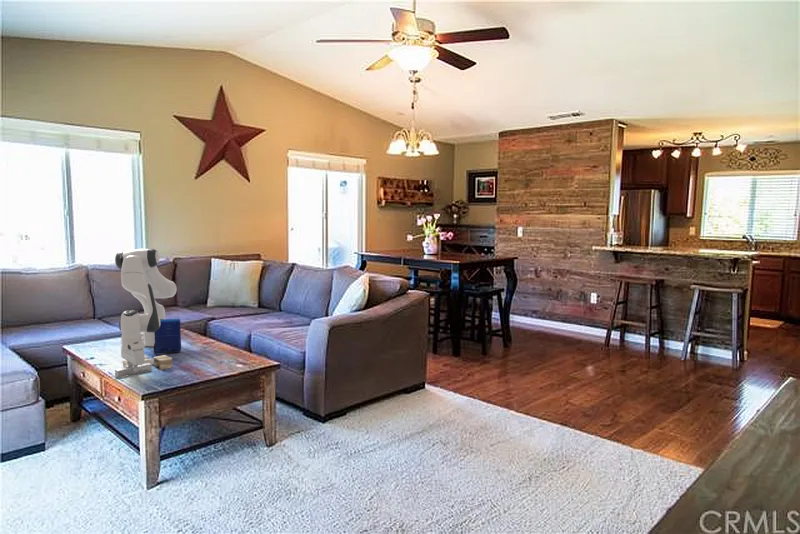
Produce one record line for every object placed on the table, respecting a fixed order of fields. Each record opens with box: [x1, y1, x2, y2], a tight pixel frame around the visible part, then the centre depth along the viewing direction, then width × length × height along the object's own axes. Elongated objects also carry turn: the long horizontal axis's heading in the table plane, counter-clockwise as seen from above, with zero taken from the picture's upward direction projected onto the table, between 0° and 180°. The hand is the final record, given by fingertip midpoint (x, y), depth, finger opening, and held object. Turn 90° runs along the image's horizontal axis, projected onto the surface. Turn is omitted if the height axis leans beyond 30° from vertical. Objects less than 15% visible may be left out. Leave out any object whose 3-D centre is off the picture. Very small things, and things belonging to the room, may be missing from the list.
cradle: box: [122, 355, 154, 368], centre depth 276 cm, size 8×12×3 cm, turn 138°
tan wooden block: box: [152, 354, 173, 371], centre depth 273 cm, size 9×6×5 cm
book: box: [153, 317, 182, 355], centre depth 298 cm, size 14×5×20 cm, turn 105°
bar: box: [114, 363, 153, 378], centre depth 263 cm, size 4×16×4 cm, turn 138°
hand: (132, 370), depth 262 cm, fingers closed on bar, 3 cm apart
